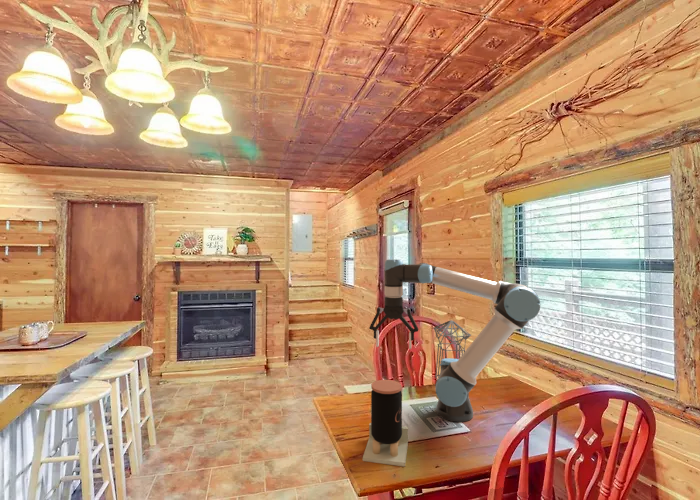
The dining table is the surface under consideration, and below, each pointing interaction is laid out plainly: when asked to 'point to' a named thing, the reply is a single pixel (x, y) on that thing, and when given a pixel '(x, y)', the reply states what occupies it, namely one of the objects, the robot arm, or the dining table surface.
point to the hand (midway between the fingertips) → (393, 347)
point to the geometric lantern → (449, 339)
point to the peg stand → (387, 450)
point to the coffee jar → (386, 411)
